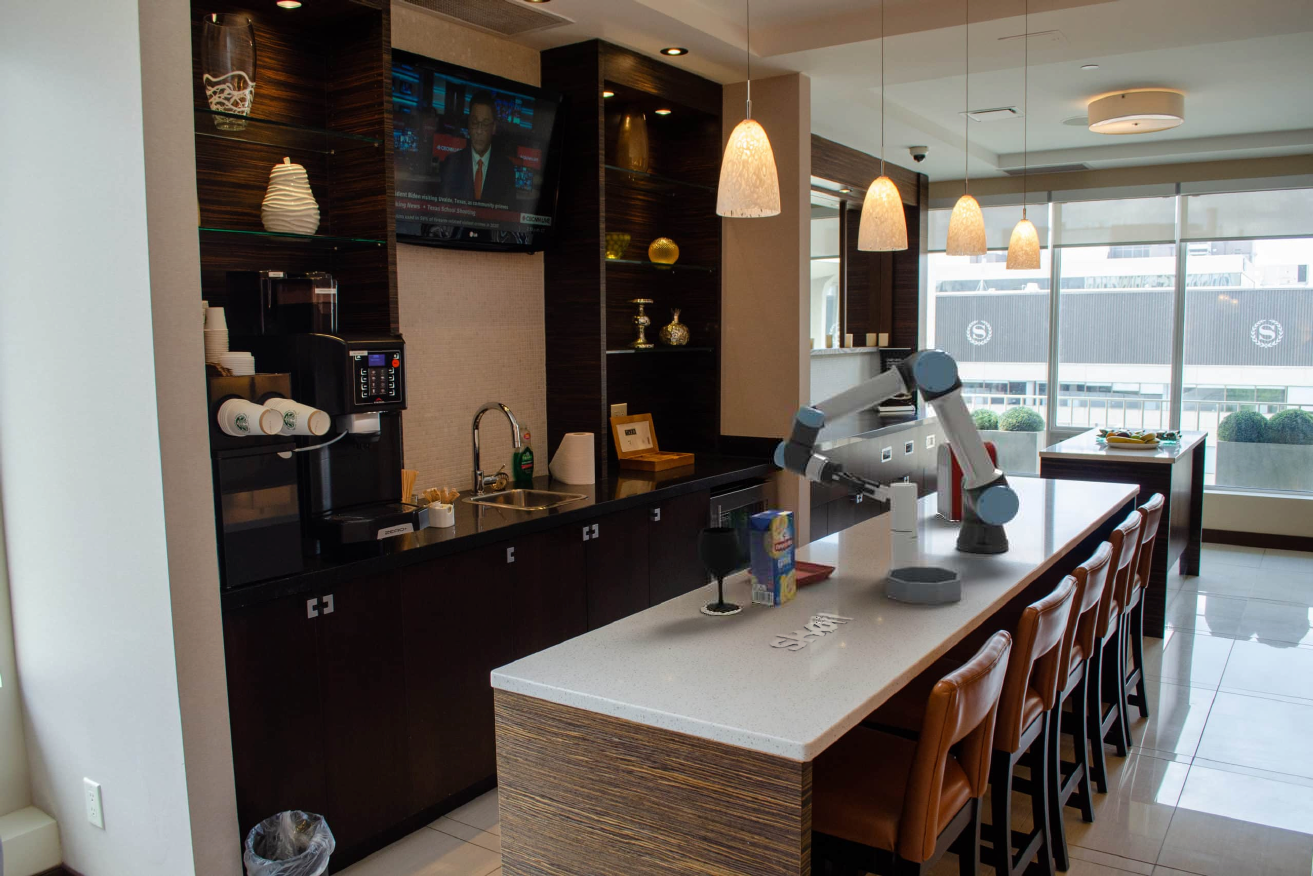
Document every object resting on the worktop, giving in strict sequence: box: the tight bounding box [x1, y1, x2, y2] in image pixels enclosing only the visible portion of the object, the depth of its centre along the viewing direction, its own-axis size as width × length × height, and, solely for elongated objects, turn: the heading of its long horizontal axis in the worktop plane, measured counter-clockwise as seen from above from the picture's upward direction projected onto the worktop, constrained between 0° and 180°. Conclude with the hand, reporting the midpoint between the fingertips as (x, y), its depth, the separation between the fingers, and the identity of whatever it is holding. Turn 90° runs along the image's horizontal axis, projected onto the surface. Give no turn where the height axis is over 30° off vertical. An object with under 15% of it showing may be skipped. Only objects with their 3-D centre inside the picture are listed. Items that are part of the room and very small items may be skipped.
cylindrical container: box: [889, 482, 919, 570], centre depth 266 cm, size 7×7×25 cm
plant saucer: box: [746, 559, 837, 588], centre depth 268 cm, size 18×18×3 cm
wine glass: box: [697, 526, 741, 613], centre depth 238 cm, size 10×10×20 cm
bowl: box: [885, 566, 962, 605], centre depth 246 cm, size 18×18×5 cm
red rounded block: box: [936, 440, 1000, 521], centre depth 346 cm, size 16×18×27 cm
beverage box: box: [748, 509, 797, 606], centre depth 245 cm, size 7×11×22 cm, turn 144°
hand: (893, 497), depth 269 cm, fingers open, 13 cm apart
